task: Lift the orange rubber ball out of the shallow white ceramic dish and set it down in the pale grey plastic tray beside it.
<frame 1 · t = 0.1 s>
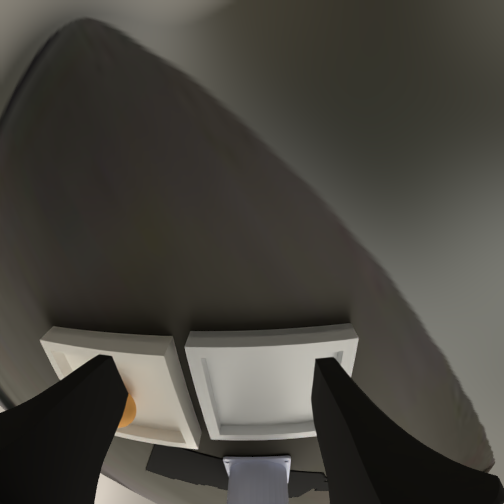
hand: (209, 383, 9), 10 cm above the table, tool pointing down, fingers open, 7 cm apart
black flat plate: (253, 479, 29), on the table
ball: (122, 392, 21), point 1 cm above the table, touching dish
dish: (126, 386, 22), on the table
tray: (272, 385, 21), on the table
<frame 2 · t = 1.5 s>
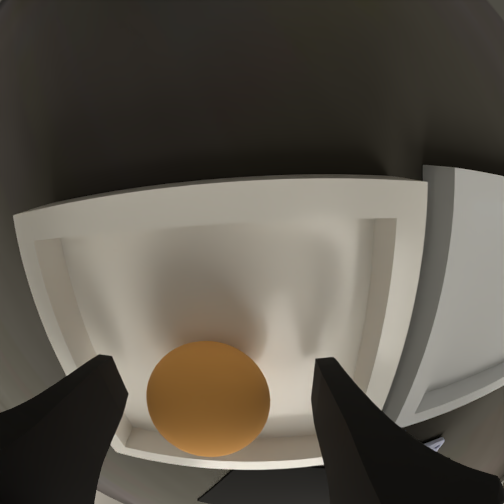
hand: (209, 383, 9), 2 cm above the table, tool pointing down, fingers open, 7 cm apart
black flat plate: (362, 489, 17), on the table
ball: (215, 361, 10), point 1 cm above the table, touching dish
dish: (219, 346, 11), on the table
tray: (493, 294, 10), on the table
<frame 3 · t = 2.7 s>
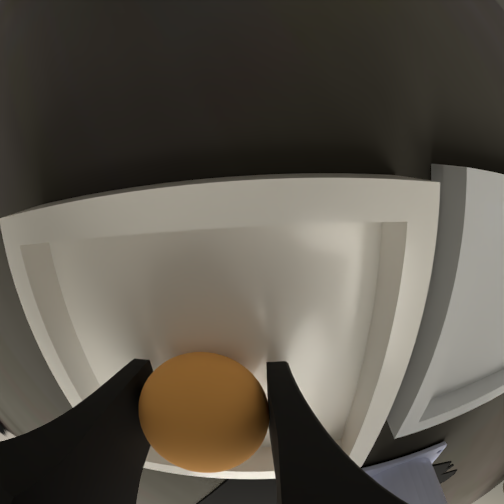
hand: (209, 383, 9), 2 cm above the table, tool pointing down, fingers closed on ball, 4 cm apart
black flat plate: (363, 493, 17), on the table
ball: (212, 371, 9), point 1 cm above the table, touching dish, gripper
dish: (215, 355, 10), on the table
tray: (499, 298, 9), on the table
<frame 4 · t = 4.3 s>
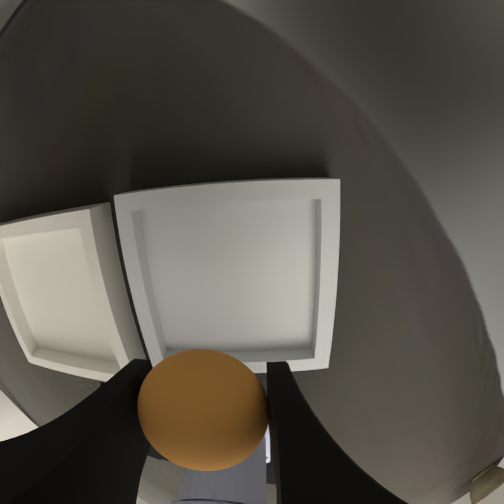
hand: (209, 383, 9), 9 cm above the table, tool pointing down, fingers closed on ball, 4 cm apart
planter bowl: (482, 471, 40), on the table
black flat plate: (227, 455, 25), on the table
ball: (211, 369, 9), point 8 cm above the table, touching gripper
dish: (62, 293, 18), on the table
tray: (232, 279, 17), on the table
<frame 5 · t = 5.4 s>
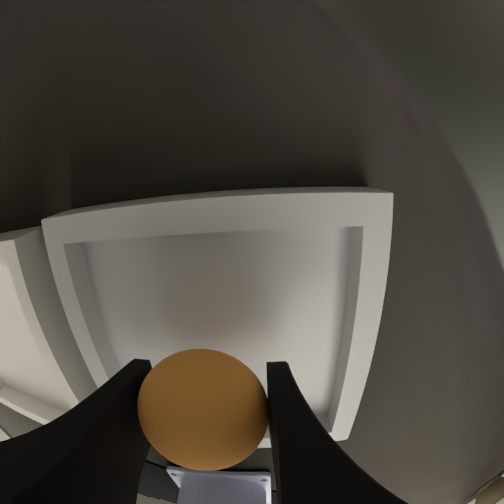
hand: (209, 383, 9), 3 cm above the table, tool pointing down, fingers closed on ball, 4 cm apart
planter bowl: (488, 482, 34), on the table
black flat plate: (223, 498, 19), on the table
ball: (211, 369, 9), point 2 cm above the table, touching gripper
dish: (17, 332, 12), on the table
tray: (219, 336, 11), on the table
when the fingers open (3 cm above the table, at t = 6.3 s): ball drops 1 cm, resting on tray.
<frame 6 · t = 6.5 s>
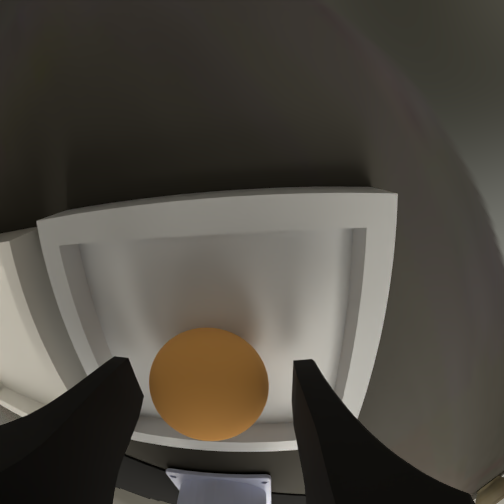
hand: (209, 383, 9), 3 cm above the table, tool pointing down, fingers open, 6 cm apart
planter bowl: (488, 482, 34), on the table
black flat plate: (223, 500, 19), on the table
ball: (215, 349, 10), point 1 cm above the table, touching tray
dish: (15, 333, 12), on the table
tray: (218, 340, 11), on the table
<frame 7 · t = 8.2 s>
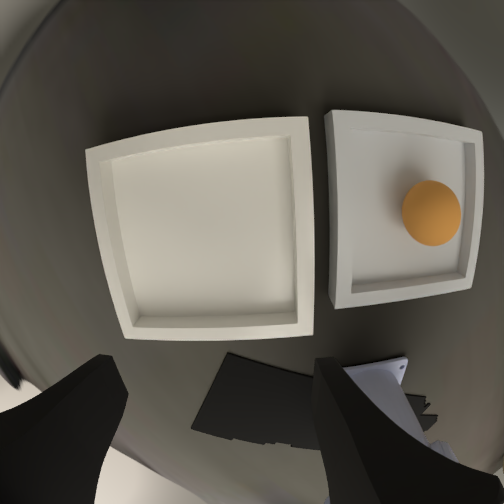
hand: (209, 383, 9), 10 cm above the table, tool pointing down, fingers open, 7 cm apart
black flat plate: (342, 422, 24), on the table
ball: (414, 207, 16), point 1 cm above the table, touching tray
dish: (204, 233, 18), on the table
tray: (409, 207, 17), on the table
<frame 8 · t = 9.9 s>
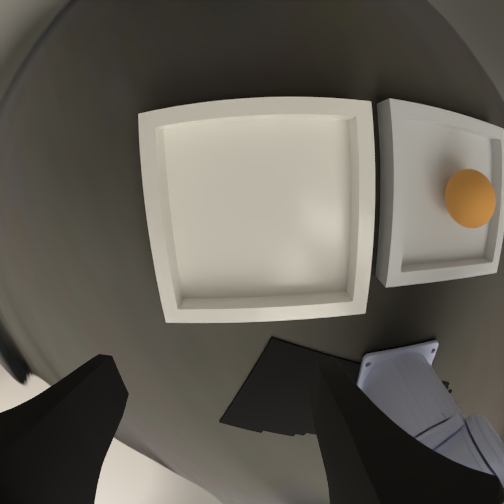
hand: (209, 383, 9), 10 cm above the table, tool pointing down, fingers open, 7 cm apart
black flat plate: (371, 410, 24), on the table
ball: (452, 194, 15), point 1 cm above the table, touching tray
dish: (260, 209, 17), on the table
tray: (446, 194, 16), on the table
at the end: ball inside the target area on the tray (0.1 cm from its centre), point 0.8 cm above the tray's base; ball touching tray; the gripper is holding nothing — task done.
